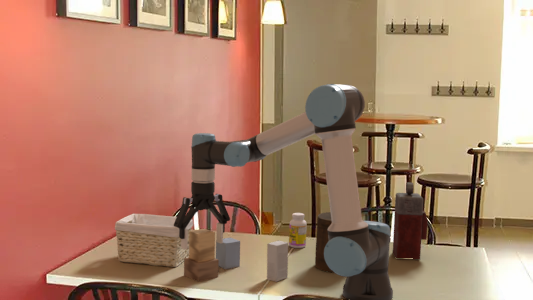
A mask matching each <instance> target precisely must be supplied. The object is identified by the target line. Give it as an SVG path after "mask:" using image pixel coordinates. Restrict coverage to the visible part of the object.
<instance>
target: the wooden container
mask: <svg viewBox="0 0 533 300" xmlns="http://www.w3.org/2000/svg"><path fill="white" fill-rule="evenodd" d="M316 222H317V223H316V225H317V226H316V239H315V253H314V254H315V259H314V267H315V268H316V269H317V270H319V271H322V270H323V271H322V272H326V271H328V272H327V273H332V272H333V271H332V270H331V269H330V268H329V267H328V265H327V264H326V261H325V258H324V249H325V246H326V244H327V243H328V241H329V238H328V227H329V226H330V225H331V223H332V219H331V211H328V212H327V211H326V212H322V213H319V214H318V215H317V220H316Z"/></svg>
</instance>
